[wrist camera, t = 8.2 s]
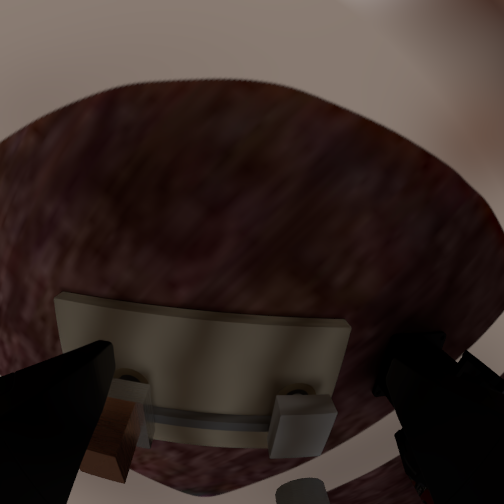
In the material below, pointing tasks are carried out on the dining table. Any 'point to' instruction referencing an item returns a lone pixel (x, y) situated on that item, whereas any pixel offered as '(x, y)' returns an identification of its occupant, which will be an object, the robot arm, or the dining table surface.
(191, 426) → the board
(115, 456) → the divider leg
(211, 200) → the dining table surface
